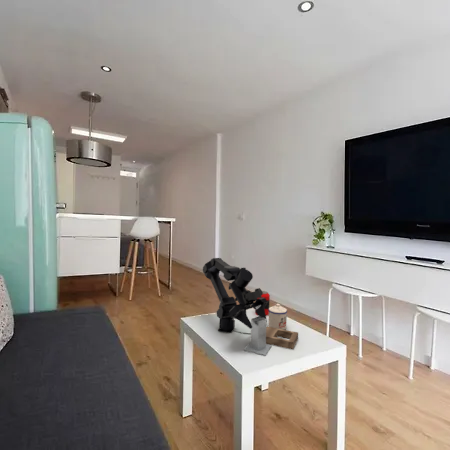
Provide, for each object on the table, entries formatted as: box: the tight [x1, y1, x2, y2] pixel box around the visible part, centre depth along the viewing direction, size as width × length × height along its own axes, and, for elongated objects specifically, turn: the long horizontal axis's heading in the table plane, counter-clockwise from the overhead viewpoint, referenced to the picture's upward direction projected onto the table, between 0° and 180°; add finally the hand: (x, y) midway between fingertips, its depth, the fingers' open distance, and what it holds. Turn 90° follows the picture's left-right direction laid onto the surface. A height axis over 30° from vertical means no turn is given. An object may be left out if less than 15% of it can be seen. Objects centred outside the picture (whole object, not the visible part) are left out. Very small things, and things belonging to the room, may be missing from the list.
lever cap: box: [250, 315, 268, 351], centre depth 118 cm, size 4×5×12 cm
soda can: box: [254, 290, 271, 317], centre depth 160 cm, size 8×8×12 cm
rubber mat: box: [243, 341, 273, 357], centre depth 119 cm, size 9×9×1 cm
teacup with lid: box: [267, 303, 288, 330], centre depth 142 cm, size 12×9×12 cm
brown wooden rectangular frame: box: [266, 326, 299, 350], centre depth 127 cm, size 14×11×3 cm
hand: (259, 325), depth 118 cm, fingers open, 9 cm apart
